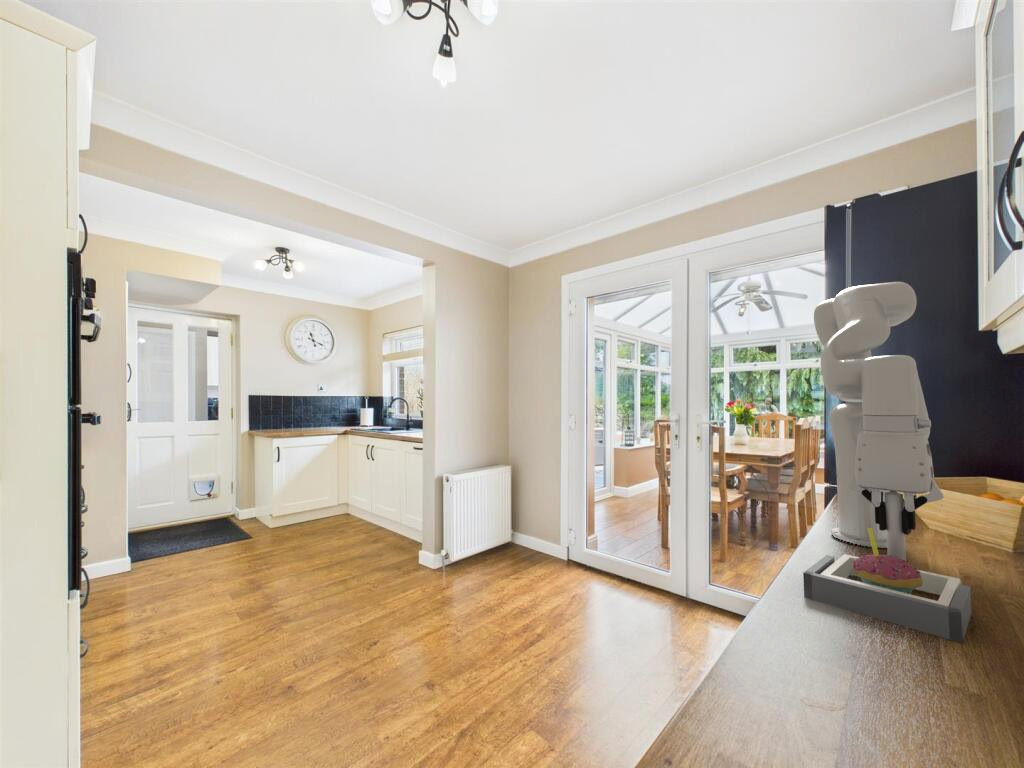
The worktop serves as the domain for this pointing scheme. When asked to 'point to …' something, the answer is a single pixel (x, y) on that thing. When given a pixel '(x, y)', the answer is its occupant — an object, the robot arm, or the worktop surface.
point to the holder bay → (890, 603)
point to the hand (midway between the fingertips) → (895, 530)
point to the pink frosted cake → (886, 570)
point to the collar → (897, 549)
